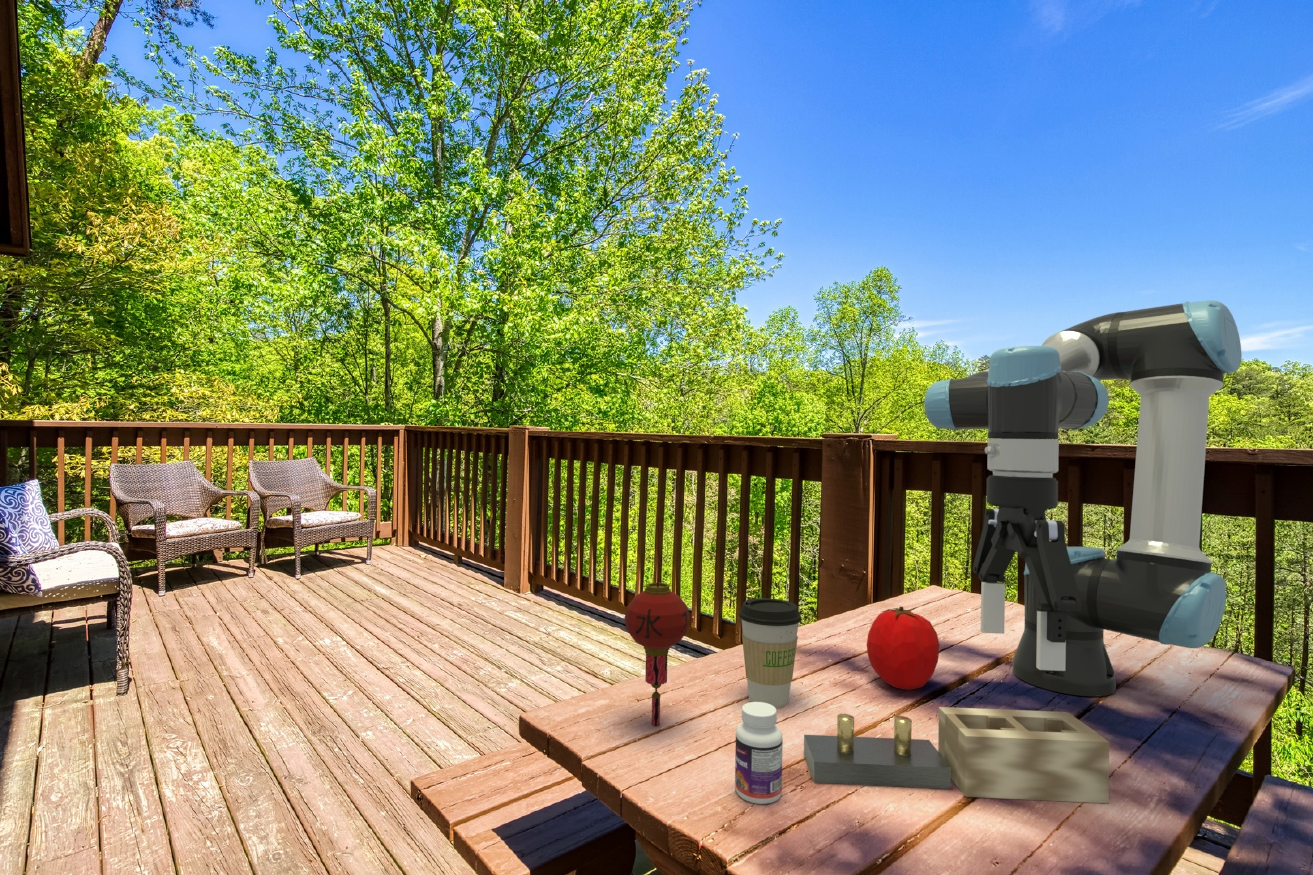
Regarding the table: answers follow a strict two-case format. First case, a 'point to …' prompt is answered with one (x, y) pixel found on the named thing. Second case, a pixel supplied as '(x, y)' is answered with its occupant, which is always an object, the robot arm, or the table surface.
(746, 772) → the pill bottle
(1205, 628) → the robot arm
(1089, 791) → the cinder block
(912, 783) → the post rail
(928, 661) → the tomato
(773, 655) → the coffee cup
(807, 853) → the table surface
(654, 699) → the lantern
